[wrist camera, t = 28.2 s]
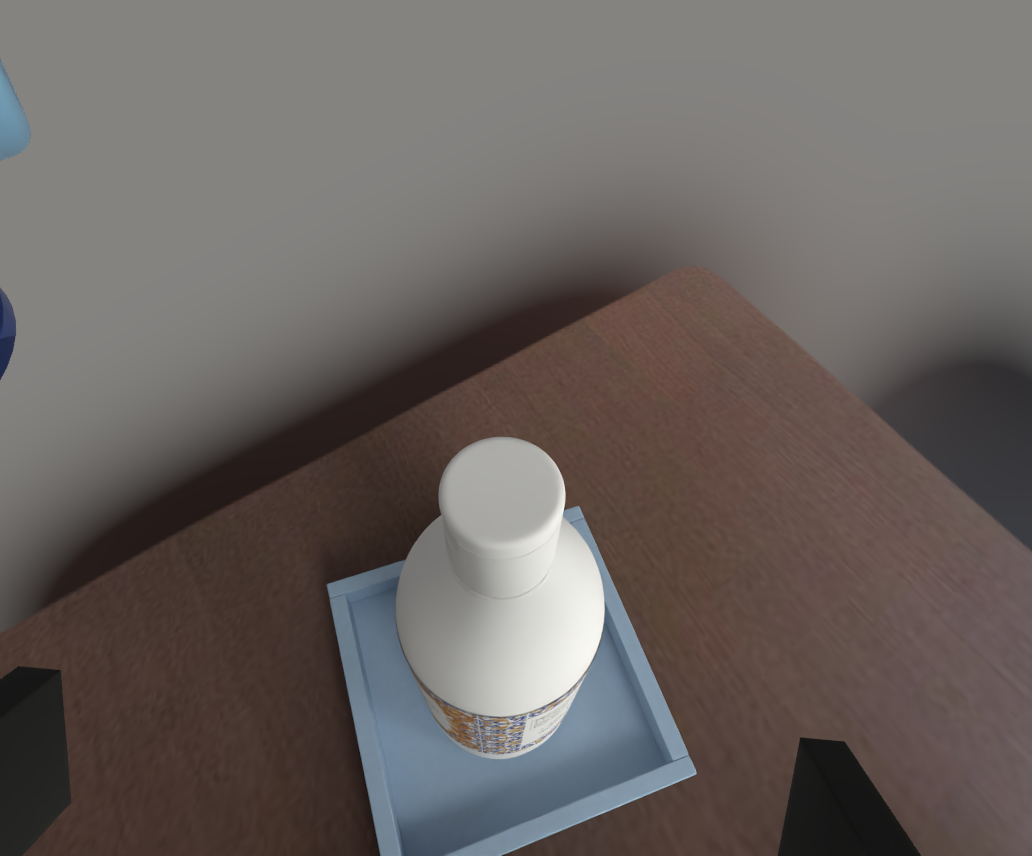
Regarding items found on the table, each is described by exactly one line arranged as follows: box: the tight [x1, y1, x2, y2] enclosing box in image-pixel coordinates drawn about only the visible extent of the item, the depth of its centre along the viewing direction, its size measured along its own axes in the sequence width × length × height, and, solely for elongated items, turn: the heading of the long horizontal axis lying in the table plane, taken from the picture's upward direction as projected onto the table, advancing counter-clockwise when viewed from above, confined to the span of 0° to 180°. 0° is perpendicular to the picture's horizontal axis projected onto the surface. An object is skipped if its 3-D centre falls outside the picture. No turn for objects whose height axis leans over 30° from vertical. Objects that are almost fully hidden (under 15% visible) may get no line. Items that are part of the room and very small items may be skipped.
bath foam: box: [396, 437, 605, 759], centre depth 23 cm, size 7×7×20 cm
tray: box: [327, 506, 696, 856], centre depth 31 cm, size 14×14×2 cm
